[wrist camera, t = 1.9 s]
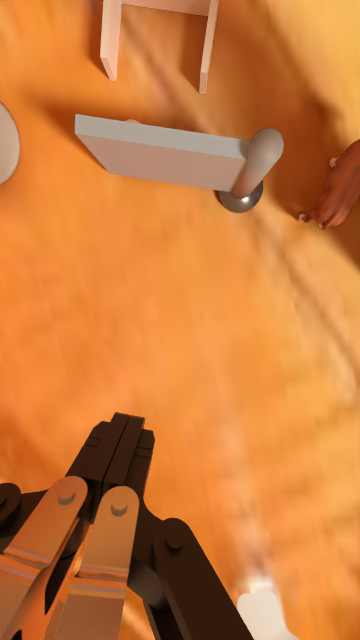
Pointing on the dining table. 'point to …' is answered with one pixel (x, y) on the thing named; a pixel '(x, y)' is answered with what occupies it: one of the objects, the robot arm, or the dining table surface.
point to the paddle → (181, 154)
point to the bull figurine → (338, 190)
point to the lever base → (241, 200)
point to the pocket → (197, 3)
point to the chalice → (8, 144)
